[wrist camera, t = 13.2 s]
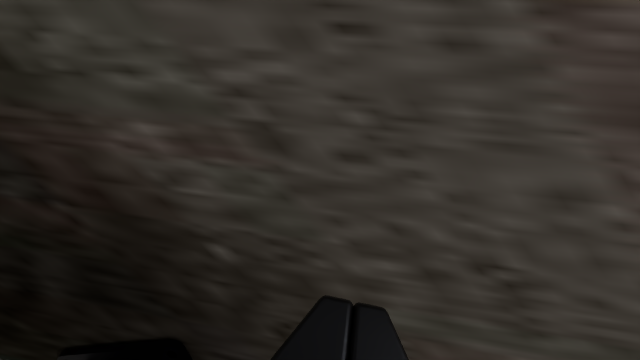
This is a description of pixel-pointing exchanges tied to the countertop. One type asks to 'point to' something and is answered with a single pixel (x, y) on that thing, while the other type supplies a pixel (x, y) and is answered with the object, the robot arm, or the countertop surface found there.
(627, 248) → the countertop surface
